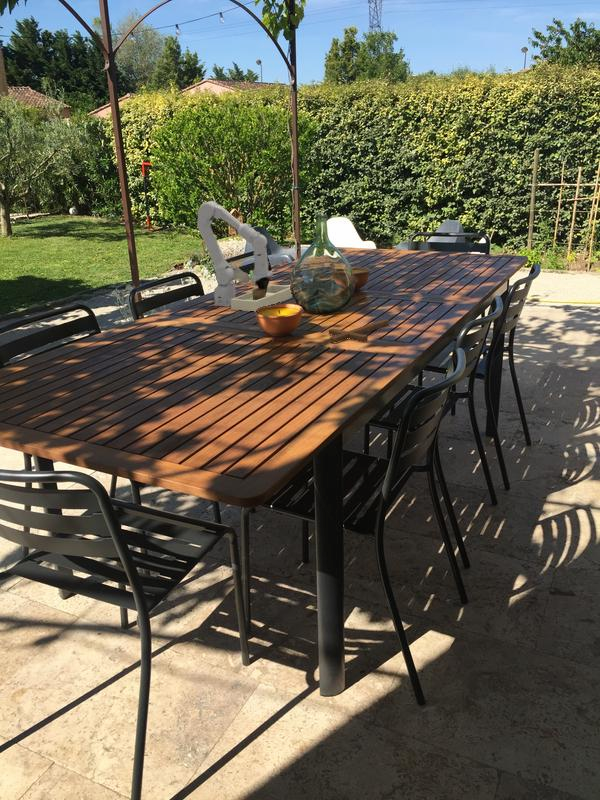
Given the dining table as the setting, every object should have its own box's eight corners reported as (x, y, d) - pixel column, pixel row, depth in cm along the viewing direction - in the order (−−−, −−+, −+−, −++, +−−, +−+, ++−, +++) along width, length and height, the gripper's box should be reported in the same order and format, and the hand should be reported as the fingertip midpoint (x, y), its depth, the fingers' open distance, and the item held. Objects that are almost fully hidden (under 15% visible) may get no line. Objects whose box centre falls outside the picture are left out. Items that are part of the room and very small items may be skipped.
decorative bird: (279, 269, 325) (265, 250, 313) (278, 284, 320) (263, 266, 308) (238, 281, 334) (223, 263, 323) (236, 296, 329) (221, 279, 318)
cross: (404, 322, 234) (350, 341, 214) (404, 328, 234) (350, 348, 215) (369, 316, 244) (315, 334, 225) (369, 322, 245) (315, 340, 226)
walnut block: (260, 300, 277) (259, 291, 276) (253, 299, 279) (252, 290, 278) (265, 298, 280) (265, 289, 279) (258, 297, 282) (257, 288, 281)
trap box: (256, 312, 268) (256, 301, 266) (231, 309, 274) (230, 299, 273) (295, 296, 294) (295, 286, 292) (271, 294, 300) (271, 284, 298)
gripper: (259, 267, 269) (261, 299, 274) (277, 261, 281) (279, 292, 286) (245, 266, 273) (248, 298, 278) (264, 260, 284) (266, 291, 289)
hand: (263, 295), depth 282 cm, fingers closed
